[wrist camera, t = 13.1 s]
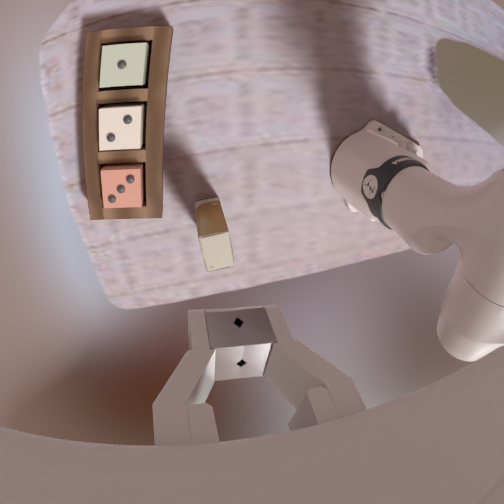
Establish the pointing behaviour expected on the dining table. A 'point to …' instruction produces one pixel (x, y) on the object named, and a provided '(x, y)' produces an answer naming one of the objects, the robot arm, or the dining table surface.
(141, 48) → the tile
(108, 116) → the tile
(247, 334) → the robot arm
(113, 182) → the three-pip tile
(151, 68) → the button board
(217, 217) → the skincare box
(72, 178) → the dining table surface
